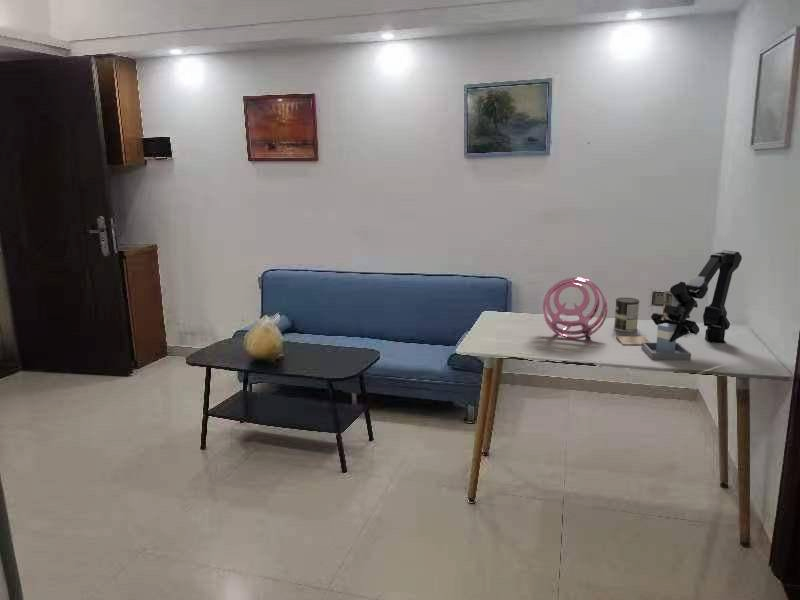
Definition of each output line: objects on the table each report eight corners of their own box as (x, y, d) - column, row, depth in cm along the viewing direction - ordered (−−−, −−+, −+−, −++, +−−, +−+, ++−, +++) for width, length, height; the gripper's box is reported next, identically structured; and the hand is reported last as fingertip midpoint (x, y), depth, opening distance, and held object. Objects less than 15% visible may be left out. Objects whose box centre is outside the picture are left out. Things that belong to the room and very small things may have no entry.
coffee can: (613, 330, 272) (615, 301, 269) (614, 325, 281) (616, 296, 278) (637, 332, 268) (639, 302, 265) (637, 326, 277) (639, 298, 274)
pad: (644, 338, 258) (644, 336, 258) (652, 346, 247) (652, 344, 247) (616, 338, 260) (616, 336, 260) (622, 346, 248) (622, 344, 248)
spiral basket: (562, 283, 284) (554, 259, 261) (619, 303, 270) (615, 279, 247) (537, 333, 279) (527, 313, 256) (593, 356, 265) (588, 337, 242)
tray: (677, 349, 242) (678, 342, 241) (690, 361, 228) (691, 353, 227) (641, 349, 244) (641, 342, 243) (651, 360, 230) (652, 353, 229)
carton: (663, 351, 239) (665, 322, 237) (674, 354, 235) (677, 325, 232) (655, 353, 237) (657, 324, 234) (666, 356, 232) (669, 327, 230)
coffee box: (683, 328, 274) (685, 294, 270) (669, 328, 274) (671, 294, 270) (674, 322, 283) (677, 290, 279) (661, 323, 283) (663, 290, 279)
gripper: (655, 293, 241) (636, 323, 238) (697, 301, 225) (677, 333, 222) (665, 309, 246) (647, 338, 243) (708, 318, 231) (688, 349, 228)
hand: (664, 339), depth 234 cm, fingers closed on carton, 5 cm apart
